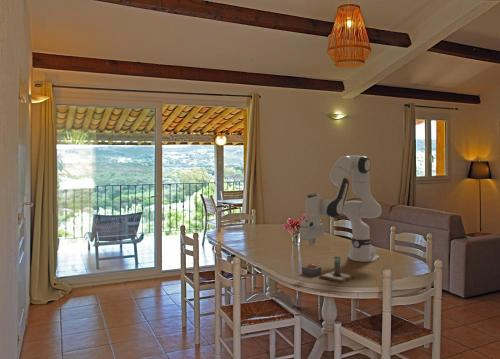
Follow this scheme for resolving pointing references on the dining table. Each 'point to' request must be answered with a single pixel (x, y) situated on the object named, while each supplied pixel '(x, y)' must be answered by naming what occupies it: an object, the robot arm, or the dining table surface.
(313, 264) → the button
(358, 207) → the robot arm
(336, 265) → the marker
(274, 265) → the dining table surface
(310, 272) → the button housing
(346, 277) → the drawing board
